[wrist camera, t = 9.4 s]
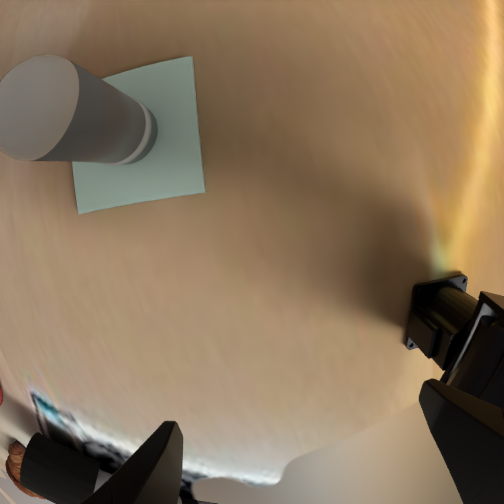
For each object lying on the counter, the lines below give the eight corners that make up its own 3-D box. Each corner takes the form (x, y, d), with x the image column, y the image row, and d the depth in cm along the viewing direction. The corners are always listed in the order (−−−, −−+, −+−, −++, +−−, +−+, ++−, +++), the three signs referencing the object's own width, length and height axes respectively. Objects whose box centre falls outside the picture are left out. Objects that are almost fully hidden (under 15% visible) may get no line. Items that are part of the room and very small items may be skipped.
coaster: (193, 58, 17) (191, 55, 16) (206, 192, 19) (205, 192, 19) (73, 92, 17) (69, 91, 16) (82, 213, 19) (78, 214, 19)
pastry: (85, 492, 32) (74, 520, 25) (55, 490, 34) (45, 513, 26) (18, 438, 28) (1, 465, 21) (-1, 443, 30) (-15, 465, 23)
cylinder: (156, 96, 17) (55, 16, 5) (162, 158, 18) (45, 140, 6) (99, 112, 17) (-25, 73, 5) (103, 172, 18) (-32, 180, 6)
